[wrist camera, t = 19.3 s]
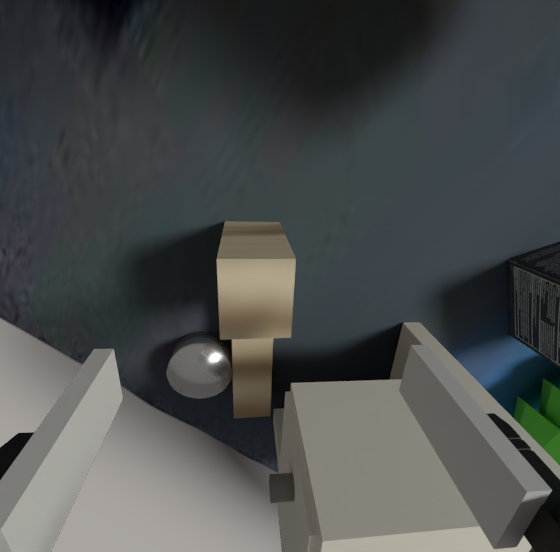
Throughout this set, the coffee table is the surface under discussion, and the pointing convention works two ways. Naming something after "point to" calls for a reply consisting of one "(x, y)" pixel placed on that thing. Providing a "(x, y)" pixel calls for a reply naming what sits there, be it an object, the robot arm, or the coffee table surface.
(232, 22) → the coffee table surface
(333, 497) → the cabinet
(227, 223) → the tan l-shaped block
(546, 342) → the small box
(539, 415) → the decorative tree
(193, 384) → the grey rounded puck
